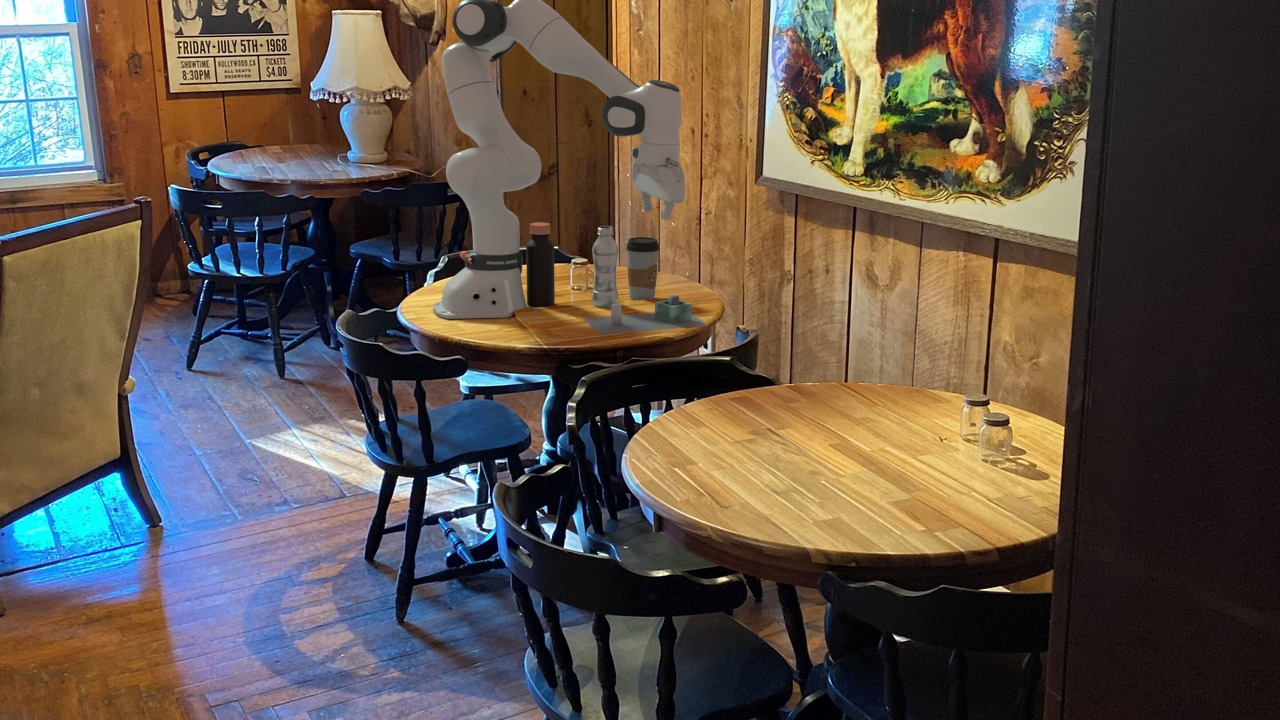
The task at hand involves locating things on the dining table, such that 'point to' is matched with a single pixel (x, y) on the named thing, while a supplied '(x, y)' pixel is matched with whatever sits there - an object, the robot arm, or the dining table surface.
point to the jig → (637, 321)
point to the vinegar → (540, 266)
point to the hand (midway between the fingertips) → (656, 215)
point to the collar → (673, 312)
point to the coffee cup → (642, 267)
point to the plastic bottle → (605, 268)
